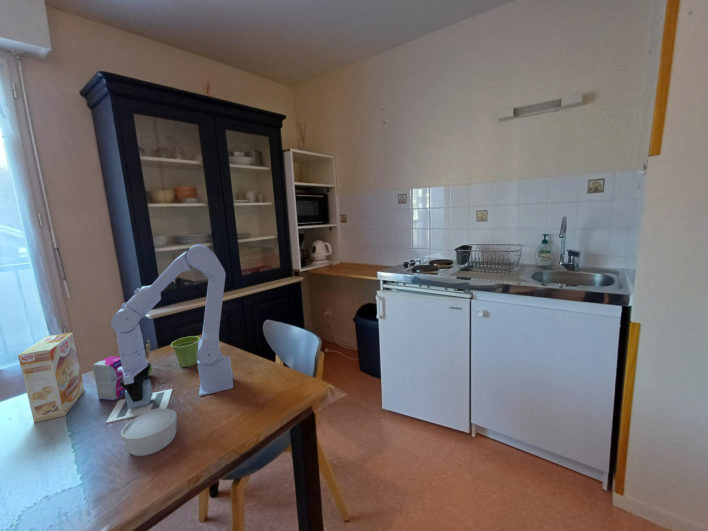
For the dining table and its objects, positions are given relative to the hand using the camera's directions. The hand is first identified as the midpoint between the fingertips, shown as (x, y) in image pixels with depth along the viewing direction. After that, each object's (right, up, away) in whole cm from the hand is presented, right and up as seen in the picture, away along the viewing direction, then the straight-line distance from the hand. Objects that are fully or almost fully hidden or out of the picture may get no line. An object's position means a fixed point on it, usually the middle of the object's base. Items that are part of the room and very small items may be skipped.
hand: (140, 395), depth 91 cm
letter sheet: (0, -3, +1) cm, 3 cm away
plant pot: (+1, +1, +25) cm, 25 cm away
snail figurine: (-10, -1, +17) cm, 19 cm away
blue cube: (0, -2, 0) cm, 2 cm away
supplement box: (-12, -3, +7) cm, 14 cm away
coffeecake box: (-25, -4, +3) cm, 26 cm away
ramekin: (+13, -5, -15) cm, 21 cm away
